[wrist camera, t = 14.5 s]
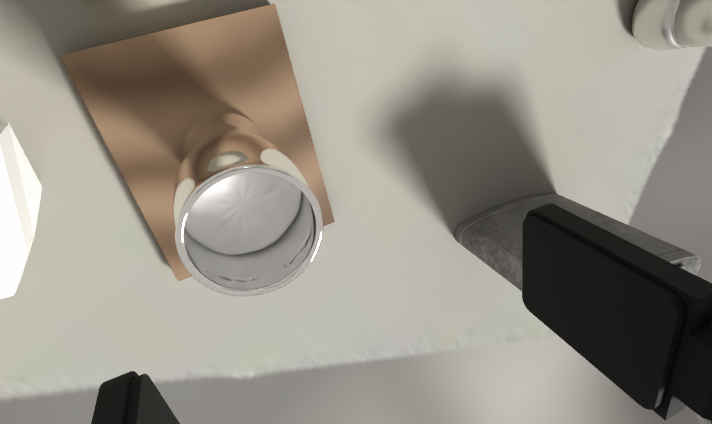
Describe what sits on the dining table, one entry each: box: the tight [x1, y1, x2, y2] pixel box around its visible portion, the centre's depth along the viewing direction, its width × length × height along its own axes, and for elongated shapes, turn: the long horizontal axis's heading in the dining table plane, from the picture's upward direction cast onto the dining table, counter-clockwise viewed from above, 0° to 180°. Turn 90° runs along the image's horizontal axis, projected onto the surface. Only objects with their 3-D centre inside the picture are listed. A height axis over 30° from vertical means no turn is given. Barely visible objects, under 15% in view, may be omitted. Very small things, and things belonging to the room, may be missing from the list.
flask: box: [455, 193, 701, 291], centre depth 39 cm, size 4×14×18 cm, turn 98°
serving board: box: [60, 4, 334, 281], centre depth 32 cm, size 18×14×2 cm
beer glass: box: [172, 111, 323, 296], centre depth 25 cm, size 7×7×15 cm
